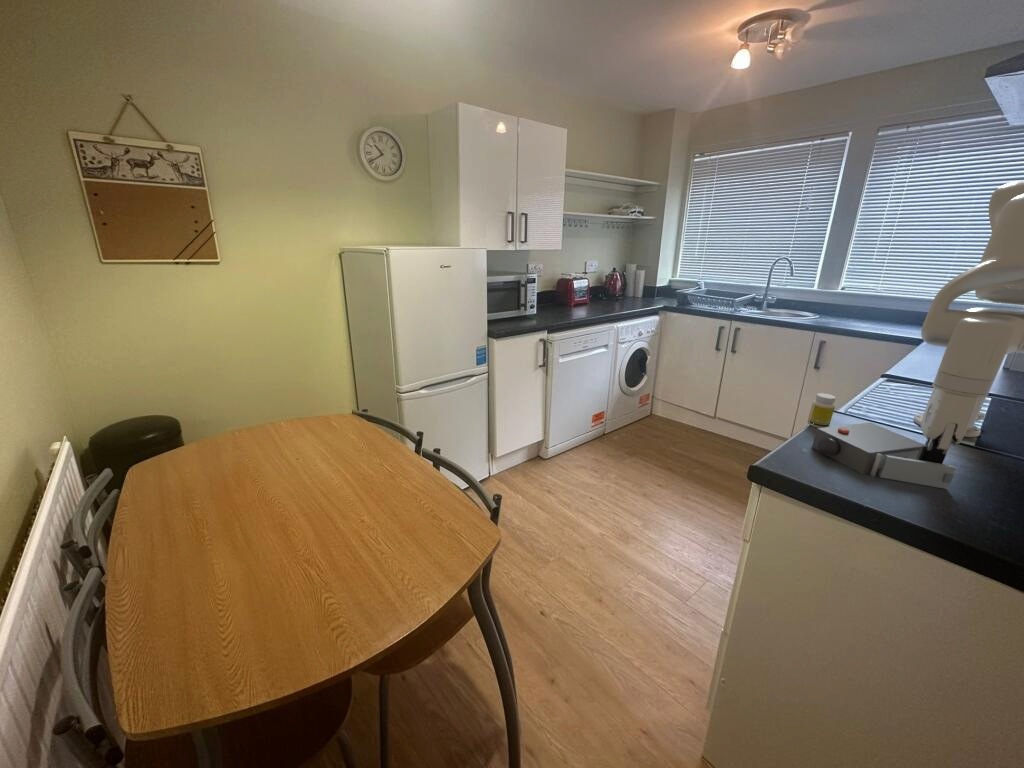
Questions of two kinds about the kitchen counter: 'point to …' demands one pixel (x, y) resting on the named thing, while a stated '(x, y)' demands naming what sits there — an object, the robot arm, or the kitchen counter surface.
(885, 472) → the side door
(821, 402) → the supplement bottle
